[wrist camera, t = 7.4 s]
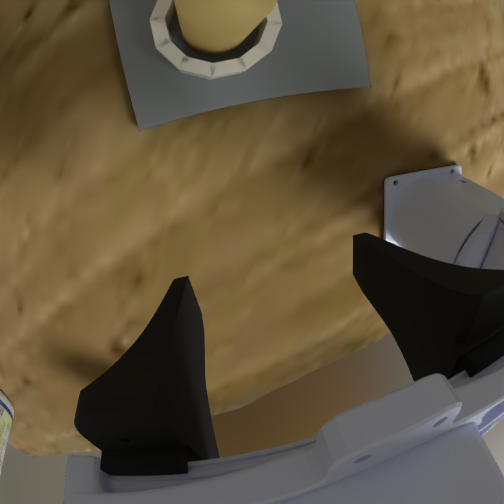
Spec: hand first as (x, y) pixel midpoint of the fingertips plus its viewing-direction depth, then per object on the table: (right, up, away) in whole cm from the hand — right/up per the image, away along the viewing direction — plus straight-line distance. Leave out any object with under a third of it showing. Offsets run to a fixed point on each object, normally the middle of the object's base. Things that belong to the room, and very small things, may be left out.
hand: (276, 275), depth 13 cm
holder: (-2, +16, +3) cm, 16 cm away
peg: (-3, +15, +2) cm, 15 cm away
